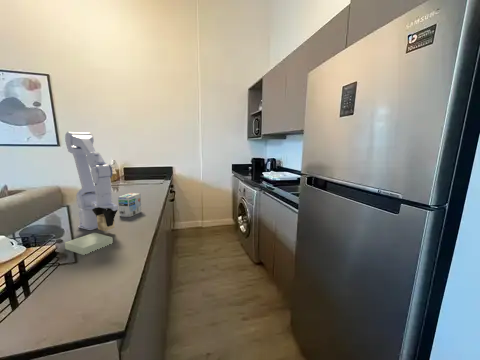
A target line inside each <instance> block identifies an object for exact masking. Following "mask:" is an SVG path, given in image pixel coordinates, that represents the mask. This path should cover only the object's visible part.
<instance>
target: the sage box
mask: <svg viewBox="0 0 480 360" xmlns="http://www.w3.org/2000/svg"><path fill="white" fill-rule="evenodd" d="M113 241H114V240H113V237H112V236H108V235H106V234H101V233H97V232H92V233H89V234H86V235H83V236H80V237H77V238H74V239H71V240H69V241H64V247H65V248H64V249H65V250H66V251H70V252H73V253H76V254H79V255H82V256H85V254H86V255H88V254H90V252H91V253H93V252H96V251H98V250H100V248H101V249H103V248H105V246H106V247H107V245H108V246H110V245H109V244H111V245H113V244H114V242H113ZM112 243H113V244H112ZM102 247H103V248H102ZM97 249H98V250H97ZM95 250H96V251H95ZM92 251H93V252H92Z"/></svg>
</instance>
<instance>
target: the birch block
mask: <svg viewBox="0 0 480 360" xmlns="http://www.w3.org/2000/svg"><path fill="white" fill-rule="evenodd" d="M97 224H98V228H97V230H98V231H99V230H100V231H103V232H107V231H110V230H112V229H115V228H116V225H115V220H114V221H113V225H112V226H109V227H108V226H107V224H106V219H105V216H104V214H101V215H97Z"/></svg>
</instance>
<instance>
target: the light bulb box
mask: <svg viewBox="0 0 480 360" xmlns="http://www.w3.org/2000/svg"><path fill="white" fill-rule="evenodd" d="M117 201H118V213H119V215H118V216H119V217H123V218H124V217H125V218H130V217H133V216H135V215H137V214H140V213H142V196H141V193H138V192H136V193H135V192H129V193H126V194H123V195H119V196H118V197H117Z"/></svg>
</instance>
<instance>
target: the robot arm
mask: <svg viewBox="0 0 480 360" xmlns="http://www.w3.org/2000/svg"><path fill="white" fill-rule="evenodd" d="M64 138H65V139H64V140H65V145H66V148H67V152H68V153H70V154H72V155H73V158H74V162H75V166H76V170H77V174H78V178H79V182H80V187H81V189H79V190H78V191H77V192H76V195H75V196H76V204H77V207H78V208H79V211H78V221H79V225H78V226H77V227H78V228H80V229H84V230H89V231H93V230H95V229H98V224H97V215H101V214H104V216H105V219H106V224H107V226H108V227H109V226H112V225H113V221H114V222H115V217H116V215H117V213H118V212H119V204H115V203H114V202H113V197H112V184H111V178H112V177H113V168H112V166H111V164H110V163H108V162H106V161H105V160H104V158H103V156H102V155H101V153H99V152H97V151H96V149H95V147H94V135H93V134H92V133H91V132H81V131H80V132H78V131H77V132H76V131H75V132H74V131H67V132H66V133H65V135H64Z"/></svg>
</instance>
